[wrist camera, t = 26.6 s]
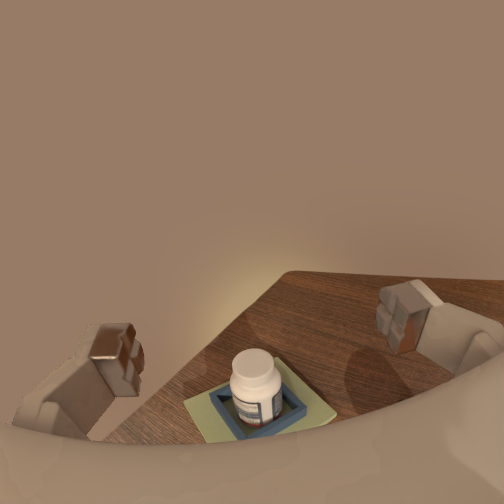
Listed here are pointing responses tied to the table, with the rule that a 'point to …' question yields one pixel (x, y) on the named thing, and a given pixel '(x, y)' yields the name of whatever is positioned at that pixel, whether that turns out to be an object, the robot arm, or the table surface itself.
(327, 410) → the dock pad
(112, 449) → the robot arm
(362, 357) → the table surface
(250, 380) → the pill bottle
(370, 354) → the table surface
